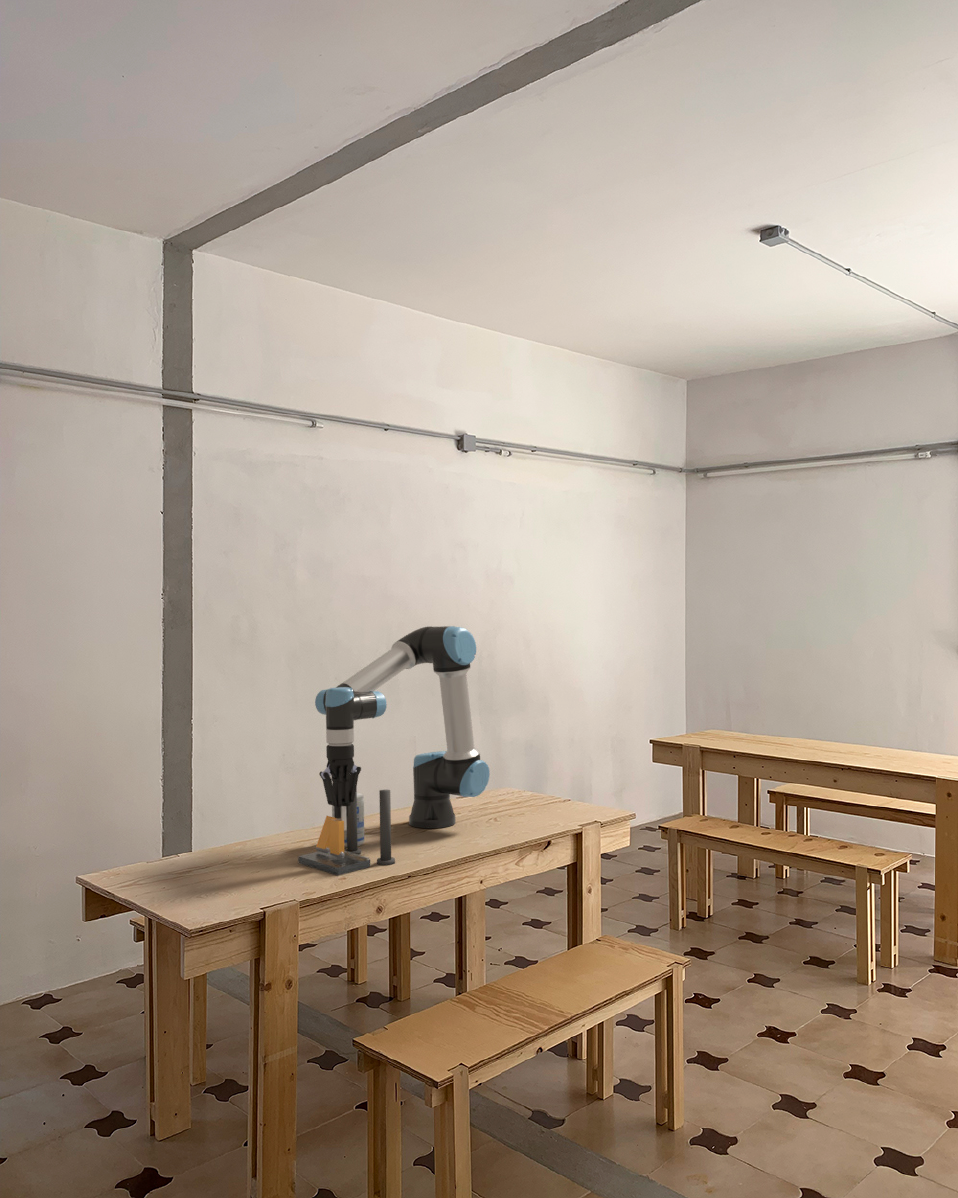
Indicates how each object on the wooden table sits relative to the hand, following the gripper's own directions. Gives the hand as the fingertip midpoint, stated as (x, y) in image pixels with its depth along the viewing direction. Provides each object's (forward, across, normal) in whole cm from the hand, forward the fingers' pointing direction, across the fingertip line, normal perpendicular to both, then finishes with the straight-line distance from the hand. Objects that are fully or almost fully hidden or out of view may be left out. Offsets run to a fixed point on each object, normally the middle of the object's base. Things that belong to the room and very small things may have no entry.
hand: (341, 829), depth 267 cm
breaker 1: (+8, +2, 0) cm, 8 cm away
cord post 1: (+10, -10, -8) cm, 16 cm away
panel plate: (+10, +2, -2) cm, 10 cm away
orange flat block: (+8, +2, -8) cm, 11 cm away
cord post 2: (+10, -10, +7) cm, 16 cm away
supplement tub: (+10, -16, -17) cm, 25 cm away
